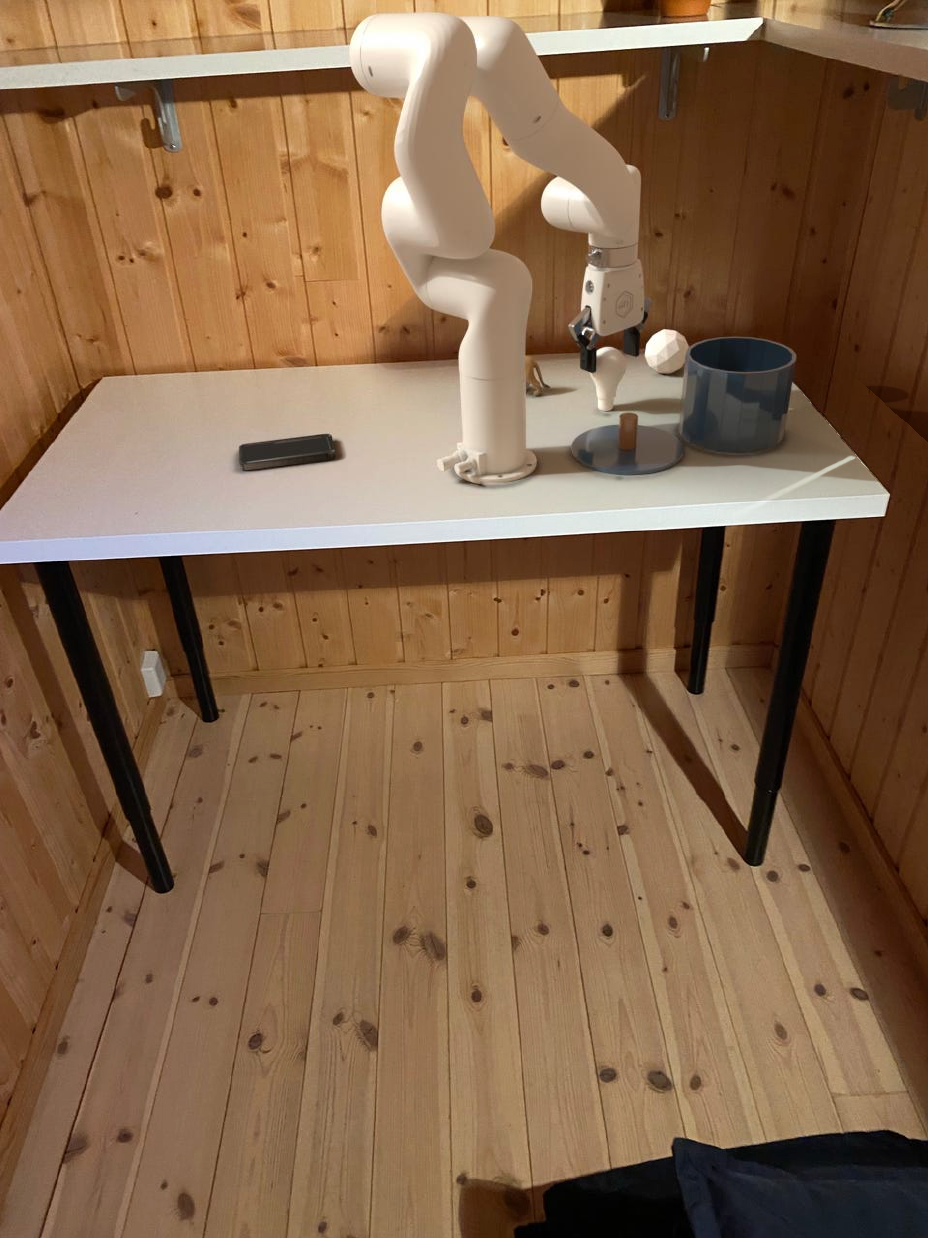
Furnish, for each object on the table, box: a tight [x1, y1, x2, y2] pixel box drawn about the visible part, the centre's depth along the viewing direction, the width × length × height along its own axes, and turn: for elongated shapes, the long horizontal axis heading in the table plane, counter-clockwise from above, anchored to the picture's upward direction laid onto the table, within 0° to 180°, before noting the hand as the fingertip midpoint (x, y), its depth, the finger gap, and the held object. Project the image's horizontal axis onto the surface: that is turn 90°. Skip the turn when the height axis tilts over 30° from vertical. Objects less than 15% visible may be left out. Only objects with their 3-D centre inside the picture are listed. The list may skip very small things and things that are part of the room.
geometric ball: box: [644, 328, 690, 375], centre depth 167 cm, size 8×8×8 cm
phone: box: [238, 433, 336, 471], centre depth 147 cm, size 8×1×15 cm
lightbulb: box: [589, 346, 627, 412], centre depth 152 cm, size 6×6×11 cm
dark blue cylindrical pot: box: [678, 336, 797, 454], centre depth 142 cm, size 16×16×13 cm
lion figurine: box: [525, 354, 551, 397], centre depth 162 cm, size 15×5×9 cm, turn 92°
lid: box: [571, 412, 684, 476], centre depth 140 cm, size 17×17×6 cm
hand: (609, 362), depth 151 cm, fingers open, 9 cm apart
